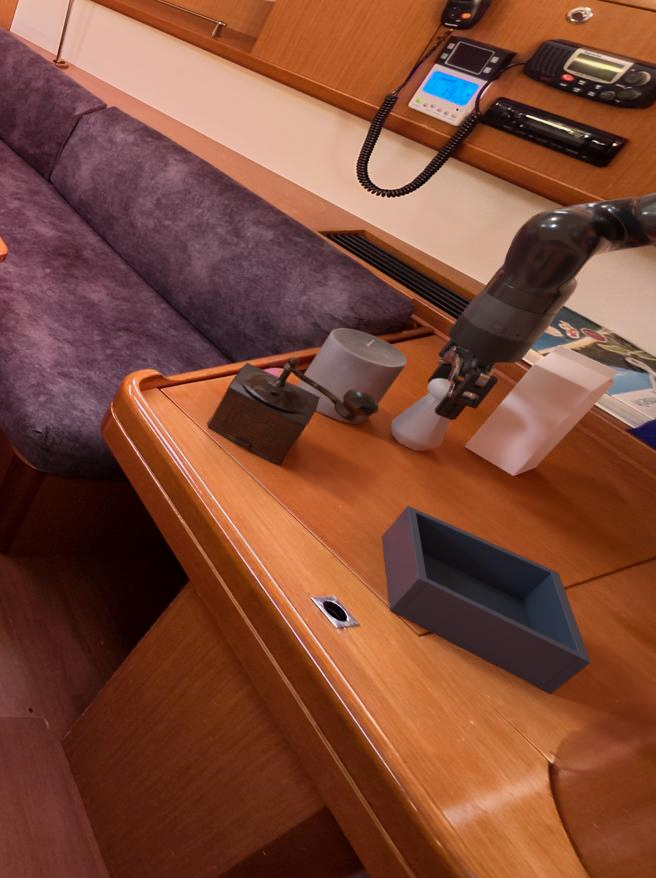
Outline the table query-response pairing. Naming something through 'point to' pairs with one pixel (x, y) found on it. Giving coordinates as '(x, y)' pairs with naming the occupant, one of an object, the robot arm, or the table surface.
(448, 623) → the bin
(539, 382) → the milk
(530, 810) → the table surface
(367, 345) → the pillar candle
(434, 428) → the salt shaker
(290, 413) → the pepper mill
